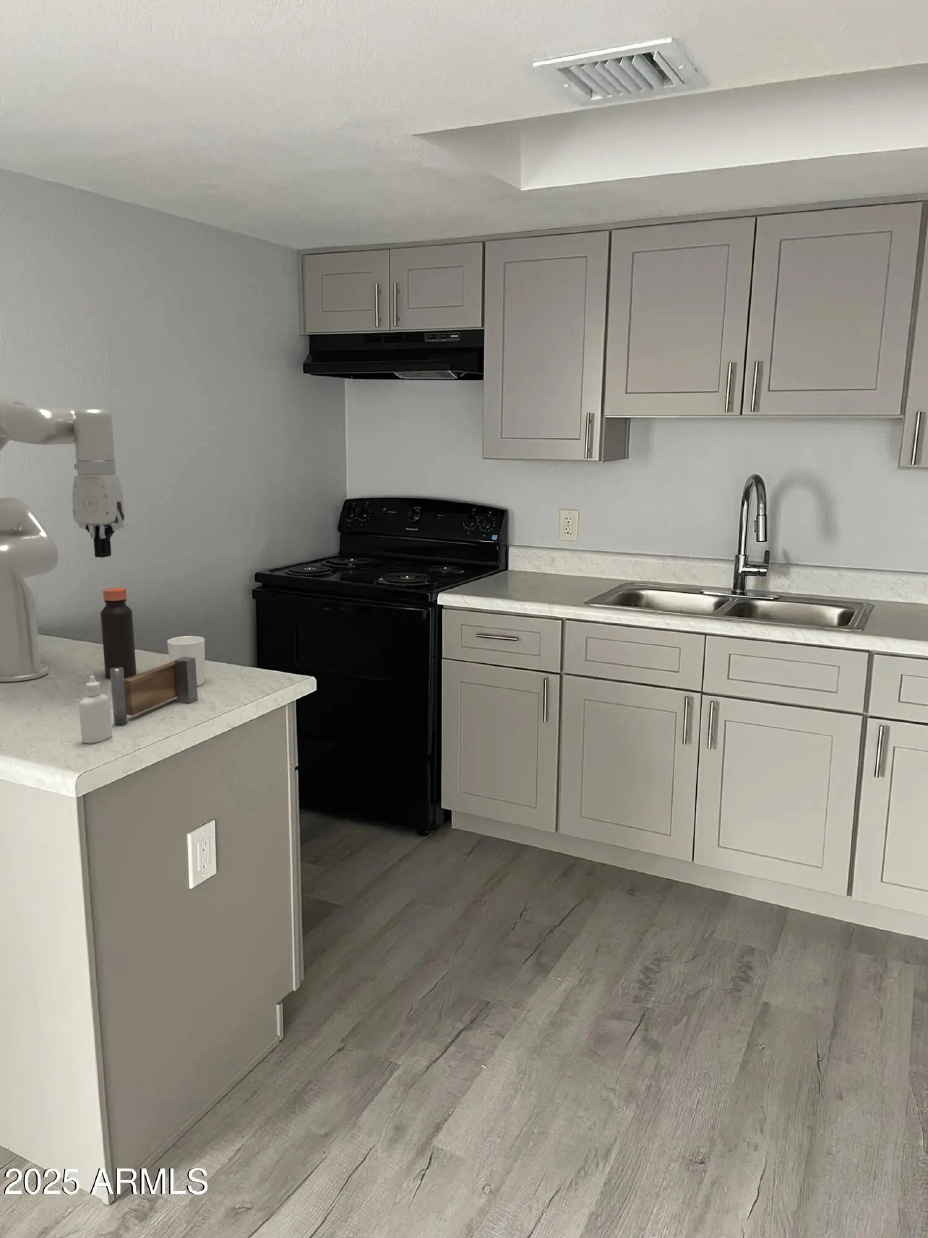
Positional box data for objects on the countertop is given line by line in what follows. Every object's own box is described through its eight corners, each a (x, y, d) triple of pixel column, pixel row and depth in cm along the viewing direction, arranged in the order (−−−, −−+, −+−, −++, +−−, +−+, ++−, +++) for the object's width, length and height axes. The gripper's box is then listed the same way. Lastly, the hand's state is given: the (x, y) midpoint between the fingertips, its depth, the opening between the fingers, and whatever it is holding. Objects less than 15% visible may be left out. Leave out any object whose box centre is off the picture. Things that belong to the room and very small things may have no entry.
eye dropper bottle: (78, 739, 177) (72, 676, 175) (109, 733, 180) (104, 671, 178) (84, 745, 174) (78, 681, 171) (116, 739, 177) (111, 676, 174)
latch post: (176, 702, 200) (174, 660, 198) (185, 698, 203) (183, 656, 201) (189, 703, 199) (186, 661, 197) (197, 699, 202) (195, 657, 200)
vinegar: (99, 678, 219) (92, 591, 215) (114, 670, 225) (108, 586, 221) (127, 679, 218) (121, 592, 213) (142, 672, 224) (135, 587, 220)
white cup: (196, 689, 210) (194, 644, 208) (163, 687, 211) (160, 643, 209) (213, 680, 217) (210, 636, 215) (180, 678, 219) (178, 635, 217)
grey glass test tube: (111, 725, 185) (107, 669, 183) (119, 721, 187) (115, 666, 185) (121, 726, 184) (117, 670, 182) (130, 722, 187) (125, 667, 184)
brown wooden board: (124, 714, 188) (122, 680, 187) (175, 693, 203) (173, 661, 202) (133, 715, 188) (130, 681, 186) (183, 694, 202) (181, 661, 201)
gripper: (54, 469, 200) (62, 557, 203) (114, 470, 195) (120, 560, 198) (80, 467, 206) (86, 552, 210) (138, 468, 202) (143, 555, 205)
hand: (103, 556), depth 204 cm, fingers closed
